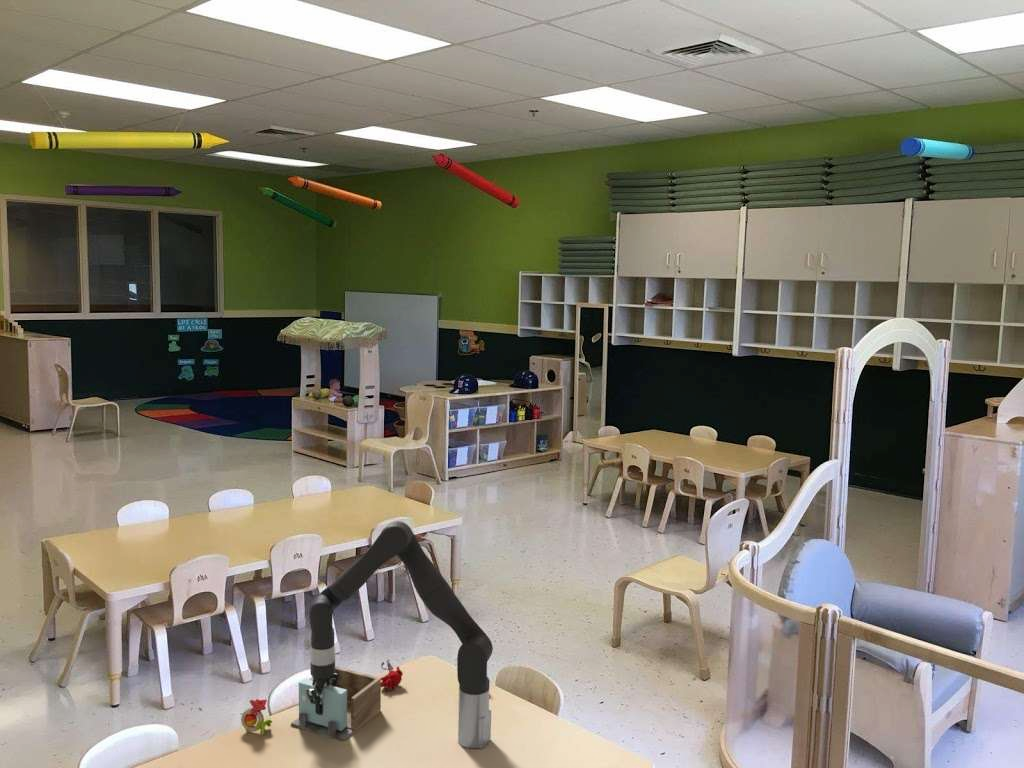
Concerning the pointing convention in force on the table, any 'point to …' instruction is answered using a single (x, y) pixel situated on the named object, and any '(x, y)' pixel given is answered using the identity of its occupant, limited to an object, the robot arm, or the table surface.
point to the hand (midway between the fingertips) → (322, 711)
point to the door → (324, 705)
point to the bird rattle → (255, 717)
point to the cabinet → (350, 704)
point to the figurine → (391, 677)
